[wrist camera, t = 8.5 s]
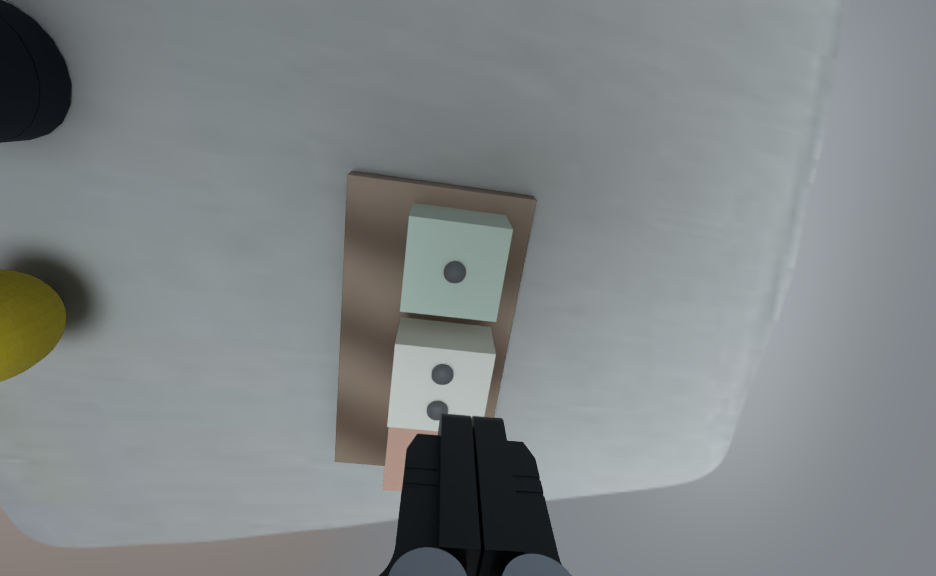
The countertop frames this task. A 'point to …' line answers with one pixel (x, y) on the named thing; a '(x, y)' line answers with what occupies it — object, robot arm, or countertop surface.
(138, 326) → the countertop surface
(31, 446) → the countertop surface
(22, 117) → the wine bottle
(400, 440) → the key three
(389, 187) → the board
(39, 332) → the lemon
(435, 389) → the key two
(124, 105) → the countertop surface
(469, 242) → the key one
